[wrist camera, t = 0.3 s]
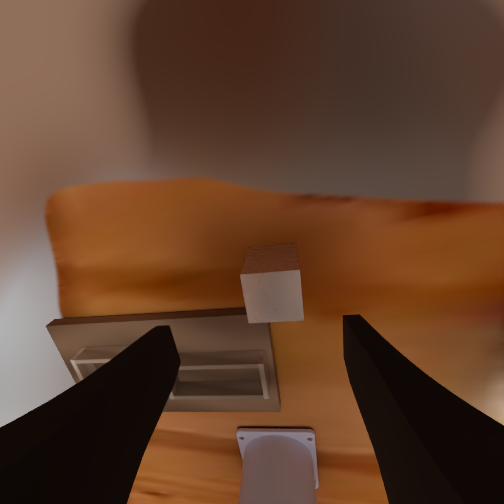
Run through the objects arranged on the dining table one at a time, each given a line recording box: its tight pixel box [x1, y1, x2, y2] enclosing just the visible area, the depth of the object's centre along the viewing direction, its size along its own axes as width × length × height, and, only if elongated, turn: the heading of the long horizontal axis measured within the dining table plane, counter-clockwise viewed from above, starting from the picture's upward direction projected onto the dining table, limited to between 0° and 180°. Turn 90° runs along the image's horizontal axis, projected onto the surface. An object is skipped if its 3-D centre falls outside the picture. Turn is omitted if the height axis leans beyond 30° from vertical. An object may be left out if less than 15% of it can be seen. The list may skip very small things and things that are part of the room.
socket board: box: [46, 308, 280, 412], centre depth 23 cm, size 11×20×2 cm, turn 98°
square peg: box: [240, 243, 304, 323], centre depth 18 cm, size 4×4×4 cm
